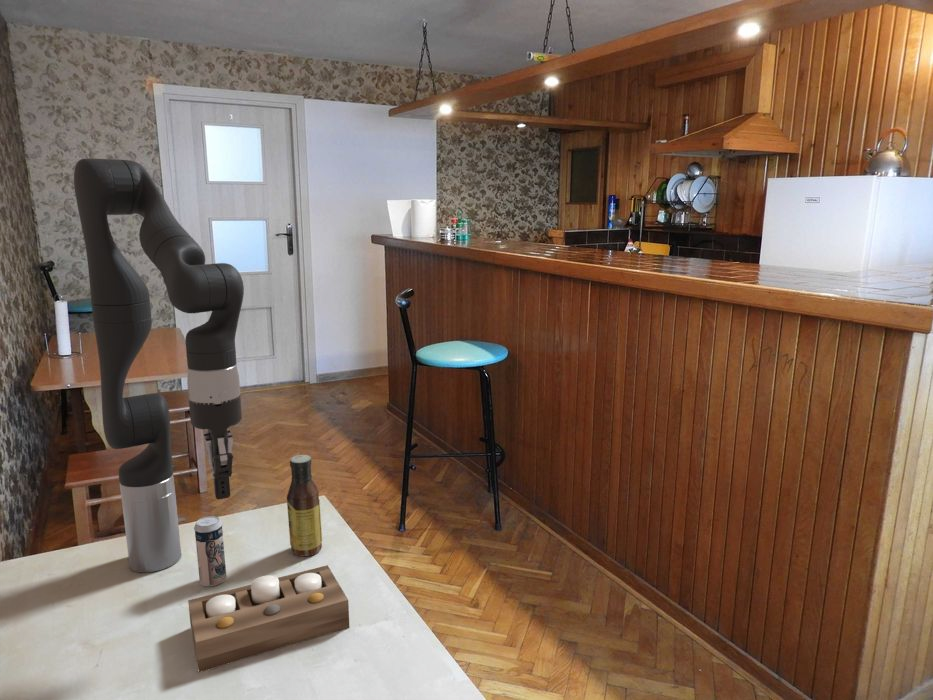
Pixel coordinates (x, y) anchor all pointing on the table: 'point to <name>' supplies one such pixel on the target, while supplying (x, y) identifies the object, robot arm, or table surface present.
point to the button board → (267, 620)
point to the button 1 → (220, 605)
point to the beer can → (210, 551)
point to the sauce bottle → (303, 509)
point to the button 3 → (307, 583)
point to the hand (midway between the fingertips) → (222, 496)
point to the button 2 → (265, 590)
